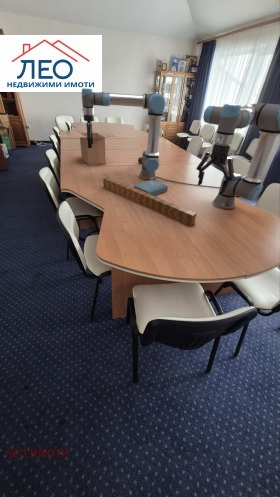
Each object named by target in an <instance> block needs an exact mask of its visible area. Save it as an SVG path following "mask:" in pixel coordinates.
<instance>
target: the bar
mask: <svg viewBox="0 0 280 497" xmlns="http://www.w3.org/2000/svg"><path fill="white" fill-rule="evenodd" d="M102 183H103V184H102V186H103V188H104V189H105V190H108V191H111V192H112V193H115V194H117V195H119V196H121V197H123V198H126V199H128V200H129V201H132V202H134V203H137V204H139V205H141V206H142V207H143V206H144V207H145V208H148V209H150V210H152V211H155V212H157V213H159V214H161V215H164V216H166V217H167V218H170V219H172V220H175V221H177V222H179V223H181V224H183V225H186V226H188V227H190V228H191V227H193V226H194V225H195V222H196V218H197V214H198V213H197V212H194V211H192V210H189V209H187V208H184V207H182V206H180V205H177V204H175V203H173V202H171V201H170V202H169V201H167V200H165V199H163V198H160V197H157V196H156V195H150V194H148V193H145V192H143V191H140V190H138V189H136V188H134V186H130V185H128V184H125V183H124V182H121V181H118V180H116V179H113V178H110V177H109V176H106V177H103V178H102Z"/></svg>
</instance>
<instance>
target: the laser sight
mask: <svg viewBox="0 0 280 497" xmlns="http://www.w3.org/2000/svg"><path fill="white" fill-rule="evenodd" d="M142 159H143V156H141V157H140V156H139V157H138V159H137V162H138V164H141V165H142ZM158 161H159V162H160V159H159V160H158Z"/></svg>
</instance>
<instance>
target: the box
mask: <svg viewBox="0 0 280 497" xmlns="http://www.w3.org/2000/svg"><path fill="white" fill-rule="evenodd" d="M70 133H71V134H72V135H74V136H75V137H77V138H79V144H80V153H81V160H83V162H85V163H86V165H87V166H95V165H97V166H98V165H106V163H107V162H106V158H107V157H106V138H113V137H114V136H113V135H111V134H109V133H108V132H105V131H98V132H96V131H95V130H93V129H92V134H93V135H92V136H93V144H92V148H88V139H87V138H86V137H87V130H77V132H76V131H70Z"/></svg>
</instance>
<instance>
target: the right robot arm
mask: <svg viewBox="0 0 280 497" xmlns="http://www.w3.org/2000/svg"><path fill="white" fill-rule="evenodd" d="M202 116H203V117H202V118H203V122H204V123H206V124H209V125H215V126H217V128H216V133H215V137H214V141H213V142H214V143H213V144H212V151H207V152H205V154H204V156H203V158H202V159H201V161H200V162H199V164H198V165H197V167H196V170H197V171H198V176H197V177H198V180H197V185H202V184H203V181H204V177H205V170H206V169H208V168H209V167H210V166H212V164H213V165H214V166H215V165H216V166H218V167H220V169H221V171H222V173H223V174H222V175H223V176H222V179H221V183H220V186H219V187H220V188H218V189H219V190H218V194H216V196H215V198H214V199H213V201H212V205H213V206H215V207H216V208H218V209H222V210H232V209H234V208H235V202H236V198H242V199H245V200H247V201H252V202H253V201H254V200H256V199H257V198H258V197H259V195H260V194H261V192H262V191H263V188H264V185H263V183H262V182H263V180H262V175H263V172H264V170H265V167H266V165H267V163H268V160H269V157H270V154H271V152H272V149H273V146H274V144H275V141H276V139H277V137H278V136H280V104H276V103H267V102H258V103H249V104H248V103H247V104H244V105H243V106H241V104H236V103H224V104H223V106H215V105H208V106H207V107H206V108H205V109H204V112H203V115H202ZM248 126H253V127H258V128H259V130H258V133H259V138H258V140H257V144H256V146H255V149H254V152H253V155H252V157H251V161H250V164H249V167H248V169H247V172H246V175H243V177H242V174H241V173H235V170H234V158H233V157H229V156H228V155H229V153H230V149H231V145H232V142H233V139H234V136H235V131H236V130H237V129H239V130H241V129H245V128H247V127H248ZM209 158H210V160H209ZM208 160H209V161H208ZM206 162H207V163H206Z"/></svg>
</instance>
